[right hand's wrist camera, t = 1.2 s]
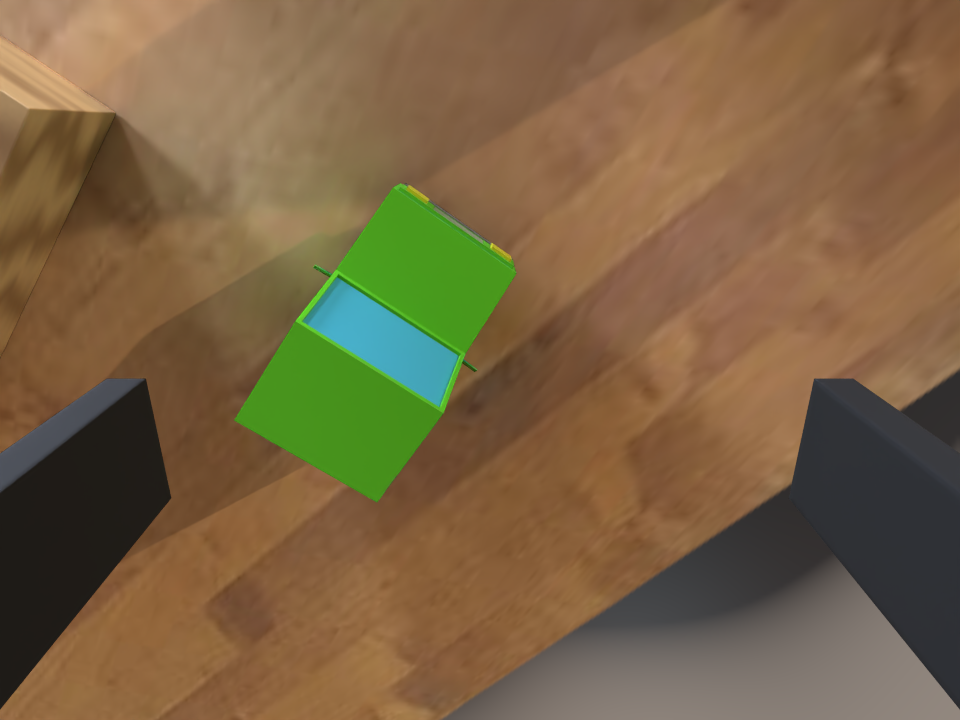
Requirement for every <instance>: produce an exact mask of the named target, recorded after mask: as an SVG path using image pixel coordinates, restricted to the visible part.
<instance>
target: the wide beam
mask: <svg viewBox="0 0 960 720" xmlns="http://www.w3.org/2000/svg"><path fill="white" fill-rule="evenodd" d="M115 115H116V113H115V112H114V111H113V110H111V109H110V108H108V107H107V106H105V105H104V104H102V103H101V102H99V101H98V100H96V99H95V98H93V97H92V96H90V95H89V94H87V93H86V92H84V91H83V90H81V89H80V88H78V87H77V86H75V85H74V84H72V83H71V82H69V81H68V80H66V79H65V78H63V77H62V76H60V75H59V74H57V73H56V72H54V71H53V70H51V69H50V68H48V67H47V66H45V65H44V64H42V63H41V62H39V61H38V60H37V59H35V58H34V57H32V56H31V55H29V54H28V53H26V52H25V51H23V50H22V49H20V48H19V47H17V46H16V45H14V44H13V43H11V42H10V41H8V40H7V39H5V38H4V37H2V36H1V35H0V357H1V355H2V353H3V351H4V349H5V347H6V345H7V343H8V340H9V338H10V336H11V334H12V332H13V330H14V328H15V326H16V324H17V321H18V319H19V317H20V315H21V313H22V311H23V309H24V307H25V305H26V302H27V300H28V298H29V296H30V294H31V292H32V290H33V288H34V286H35V284H36V281H37V279H38V277H39V275H40V273H41V271H42V269H43V267H44V265H45V262H46V260H47V258H48V256H49V254H50V252H51V250H52V248H53V246H54V243H55V241H56V239H57V237H58V235H59V233H60V231H61V229H62V227H63V224H64V222H65V220H66V218H67V216H68V214H69V212H70V210H71V208H72V206H73V203H74V201H75V199H76V197H77V195H78V193H79V191H80V189H81V187H82V184H83V182H84V180H85V178H86V176H87V174H88V172H89V170H90V168H91V165H92V163H93V161H94V159H95V157H96V155H97V153H98V151H99V149H100V146H101V144H102V142H103V140H104V138H105V136H106V134H107V132H108V130H109V128H110V125H111V123H112V121H113V119H114V117H115Z"/></svg>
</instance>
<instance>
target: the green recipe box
mask: <svg viewBox="0 0 960 720" xmlns="http://www.w3.org/2000/svg"><path fill="white" fill-rule="evenodd" d="M313 268H315V269H316V270H318V271H320V272H322V273H323V274H325V275H327V276H328V277H330V278H329V279H328V280H327V282H326V283H325V284H324V286H323V287H322V288H321V289H320V291H319V292H318V293H317V294H316V296H315V297H314V298H313V299H312V301H311V302H310V303H309V304H308V306H307V307H306V308H305V310H304V311H303V312H302V313H301V315H300V316H299V317H298V318H297V320H296V321H295V323H294V324H293V326H292V327H291V329H290V331H289V332H288V334H287V335H286V337H285V339H284V340H283V342H282V344H281V345H280V347H279V348H278V350H277V352H276V353H275V355H274V357H273V358H272V360H271V361H270V363H269V365H268V366H267V368H266V369H265V371H264V373H263V374H262V376H261V378H260V379H259V381H258V382H257V384H256V386H255V387H254V389H253V391H252V392H251V394H250V395H249V397H248V399H247V400H246V402H245V404H244V405H243V407H242V408H241V410H240V412H239V413H238V415H237V416H236V418H235V420H234V421H236V422H238V423H240V424H241V425H243V426H245V427H247V428H248V429H250V430H252V431H253V432H255V433H257V434H259V435H260V436H262V437H264V438H266V439H267V440H269V441H271V442H273V443H274V444H276V445H278V446H280V447H281V448H283V449H285V450H287V451H288V452H290V453H292V454H294V455H295V456H297V457H299V458H301V459H302V460H304V461H306V462H308V463H309V464H311V465H313V466H314V467H316V468H318V469H320V470H321V471H323V472H325V473H327V474H328V475H330V476H332V477H334V478H335V479H337V480H339V481H341V482H342V483H344V484H346V485H348V486H349V487H351V488H353V489H355V490H356V491H358V492H360V493H362V494H363V495H365V496H367V497H368V498H370V499H372V500H374V501H375V502H378V501H379V499H380V498H381V497H382V495H383V494H384V493H385V491H386V490H387V488H388V487H389V486H390V484H391V483H392V482H393V480H394V479H395V478H396V476H397V475H398V474H399V472H400V471H401V470H402V468H403V467H404V466H405V464H406V463H407V462H408V460H409V459H410V458H411V456H412V455H413V454H414V452H415V451H416V449H417V448H418V447H419V445H420V444H421V443H422V441H423V440H424V439H425V437H426V436H427V435H428V433H429V432H430V431H431V429H432V428H433V427H434V425H435V424H436V423H437V421H438V420H439V419H440V417H441V416H442V414H443V413H444V410H445V408H446V405H447V402H448V400H449V397H450V394H451V391H452V389H453V386H454V383H455V381H456V378H457V375H458V373H459V370H460V367H461V365H462V363H463V364H464V365H466V366H467V367H468V368H470V369H471V370H473V371H474V372H475V371H477V370H478V369H476V368H475V367H473V366H472V365H471V364H469V363H468V362H466V361H465V360H464V356H465V354H466V352H467V351H468V349H469V347H470V346H471V344H472V343H473V341H474V340H475V338H476V336H477V335H478V333H479V332H480V330H481V329H482V327H483V325H484V324H485V322H486V321H487V319H488V317H489V316H490V314H491V313H492V311H493V310H494V308H495V306H496V305H497V303H498V302H499V300H500V299H501V297H502V295H503V294H504V292H505V291H506V289H507V288H508V286H509V284H510V283H511V281H512V280H513V278H514V277H515V275H516V270H515V267H514V263H513V259H512V257H511V256H510V255H509V254H507V253H506V252H504V251H503V250H501V249H500V248H499V247H497V246H496V245H494V244H493V243H491V242H489V241H488V240H486V239H485V238H484V237H482V236H481V235H479V234H478V233H476V232H475V231H474V230H472V229H471V228H469V227H468V226H466V225H465V224H464V223H462V222H461V221H459V220H458V219H456V218H455V217H454V216H452V215H451V214H449V213H448V212H446V211H445V210H444V209H442V208H441V207H439V206H438V205H436V204H435V203H434V202H432V201H431V200H429V198H427V197H426V196H424V195H423V194H422V193H420V192H419V191H417V190H416V189H414V188H413V187H412V186H410V185H408V184H407V183H405V184H404V185H402V184H401V183H400V184H398V185H397V186H395V187H393V188H392V190H391V191H390V193H389V194H388V196H387V197H386V198H385V200H384V201H383V203H382V204H381V206H380V207H379V209H378V210H377V211H376V213H375V214H374V216H373V217H372V219H371V220H370V222H369V223H368V224H367V226H366V227H365V229H364V230H363V232H362V233H361V234H360V236H359V237H358V239H357V240H356V242H355V243H354V245H353V246H352V247H351V249H350V250H349V252H348V253H347V255H346V256H345V258H344V259H343V260H342V262H341V263H340V265H339V266H338V268H337V269H336V270H335V272H334V273H333V274H331V273H329V272H328V271H326V270H324V269H322V268H321V267H319V266H317V265H315V266H314V267H313Z"/></svg>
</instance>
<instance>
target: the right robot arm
mask: <svg viewBox="0 0 960 720" xmlns="http://www.w3.org/2000/svg"><path fill="white" fill-rule="evenodd" d="M170 499H171V495H170V490H169V485H168V481H167V476H166V471H165V466H164V462H163V457H162V452H161V448H160V443H159V438H158V434H157V429H156V424H155V420H154V415H153V410H152V406H151V401H150V396H149V391H148V387H147V382H146V379H106V380H104V381H103V382H101V383H100V384H99V385H97V386H96V387H94V388H93V389H91V390H90V391H89V392H87V393H86V394H84V395H83V396H81V397H80V398H79V399H77V400H76V401H74V402H73V403H71V404H70V405H69V406H67V407H66V408H64V409H63V410H62V411H60V412H59V413H57V414H56V415H54V416H53V417H52V418H50V419H49V420H47V421H46V422H44V423H43V424H42V425H40V426H39V427H37V428H36V429H34V430H33V431H32V432H30V433H29V434H27V435H26V436H24V437H23V438H22V439H20V440H19V441H17V442H16V443H14V444H13V445H12V446H10V447H9V448H7V449H6V450H5V451H3V452H2V453H0V709H1V708H2V706H3V705H4V704H5V703H6V702H7V700H8V699H9V698H10V697H11V695H12V694H13V693H14V692H15V690H16V689H17V688H18V687H19V685H20V684H21V683H22V682H23V681H24V679H25V678H26V677H27V676H28V674H29V673H30V672H31V671H32V669H33V668H34V667H35V666H36V664H37V663H38V662H39V661H40V660H41V658H42V657H43V656H44V655H45V653H46V652H47V651H48V650H49V648H50V647H51V646H52V645H53V643H54V642H55V641H56V640H57V639H58V637H59V636H60V635H61V634H62V632H63V631H64V630H65V629H66V627H67V626H68V625H69V624H70V622H71V621H72V620H73V619H74V618H75V616H76V615H77V614H78V613H79V611H80V610H81V609H82V608H83V606H84V605H85V604H86V603H87V601H88V600H89V599H90V598H91V597H92V595H93V594H94V593H95V592H96V590H97V589H98V588H99V587H100V585H101V584H102V583H103V582H104V581H105V579H106V578H107V577H108V576H109V574H110V573H111V572H112V571H113V569H114V568H115V567H116V566H117V564H118V563H119V562H120V561H121V560H122V558H123V557H124V556H125V555H126V553H127V552H128V551H129V550H130V548H131V547H132V546H133V545H134V543H135V542H136V541H137V540H138V539H139V537H140V536H141V535H142V534H143V532H144V531H145V530H146V529H147V527H148V526H149V525H150V524H151V522H152V521H153V520H154V519H155V518H156V516H157V515H158V514H159V513H160V511H161V510H162V509H163V508H164V506H165V505H166V504H167V503H168V501H169V500H170ZM789 499H790V500H791V501H792V503H793V504H794V505H795V506H796V508H797V509H798V510H799V511H800V513H801V514H802V515H803V516H804V518H805V519H806V520H807V521H808V522H809V524H810V525H811V526H812V527H813V529H814V530H815V531H816V532H817V534H818V535H819V536H820V537H821V539H822V540H823V541H824V542H825V543H826V545H827V546H828V547H829V548H830V550H831V551H832V552H833V553H834V555H835V556H836V557H837V558H838V560H839V561H840V562H841V563H842V564H843V566H844V567H845V568H846V569H847V571H848V572H849V573H850V574H851V576H852V577H853V578H854V579H855V580H856V582H857V583H858V584H859V585H860V587H861V588H862V589H863V590H864V592H865V593H866V594H867V595H868V597H869V598H870V599H871V600H872V601H873V603H874V604H875V605H876V606H877V608H878V609H879V610H880V611H881V613H882V614H883V615H884V616H885V618H886V619H887V620H888V621H889V622H890V624H891V625H892V626H893V627H894V629H895V630H896V631H897V632H898V634H899V635H900V636H901V637H902V639H903V640H904V641H905V642H906V643H907V645H908V646H909V647H910V648H911V650H912V651H913V652H914V653H915V655H916V656H917V657H918V658H919V660H920V661H921V662H922V663H923V664H924V666H925V667H926V668H927V669H928V671H929V672H930V673H931V674H932V676H933V677H934V678H935V679H936V681H937V682H938V683H939V684H940V685H941V687H942V688H943V689H944V690H945V692H946V693H947V694H948V695H949V697H950V698H951V699H952V700H953V702H954V703H955V704H956V705H957V706H958V708H959V709H960V453H958V452H957V451H955V450H954V449H953V448H951V447H950V446H948V445H947V444H945V443H944V442H943V441H941V440H940V439H938V438H937V437H936V436H934V435H933V434H931V433H930V432H928V431H927V430H926V429H924V428H923V427H921V426H920V425H918V424H917V423H916V422H914V421H913V420H911V419H910V418H908V417H907V416H906V415H904V414H903V413H901V412H900V411H898V410H897V409H896V408H894V407H893V406H891V405H890V404H889V403H887V402H886V401H884V400H883V399H881V398H880V397H879V396H877V395H876V394H874V393H873V392H871V391H870V390H869V389H867V388H866V387H864V386H863V385H861V384H860V383H859V382H857V381H856V380H854V379H814V382H813V387H812V391H811V396H810V401H809V406H808V410H807V415H806V420H805V424H804V429H803V434H802V438H801V443H800V448H799V452H798V457H797V462H796V466H795V471H794V476H793V481H792V485H791V490H790V495H789Z"/></svg>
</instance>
